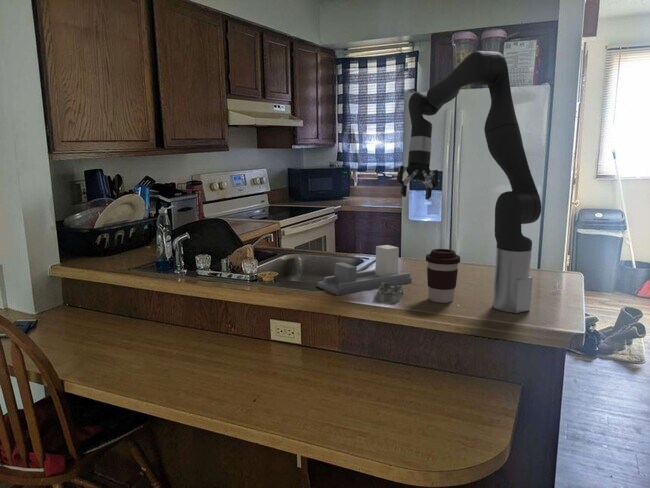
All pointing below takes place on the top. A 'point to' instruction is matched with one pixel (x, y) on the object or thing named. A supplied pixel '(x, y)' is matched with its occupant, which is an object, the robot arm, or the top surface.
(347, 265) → the grey rectangular block
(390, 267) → the block
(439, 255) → the coffee cup
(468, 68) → the robot arm
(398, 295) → the egg carton
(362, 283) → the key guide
